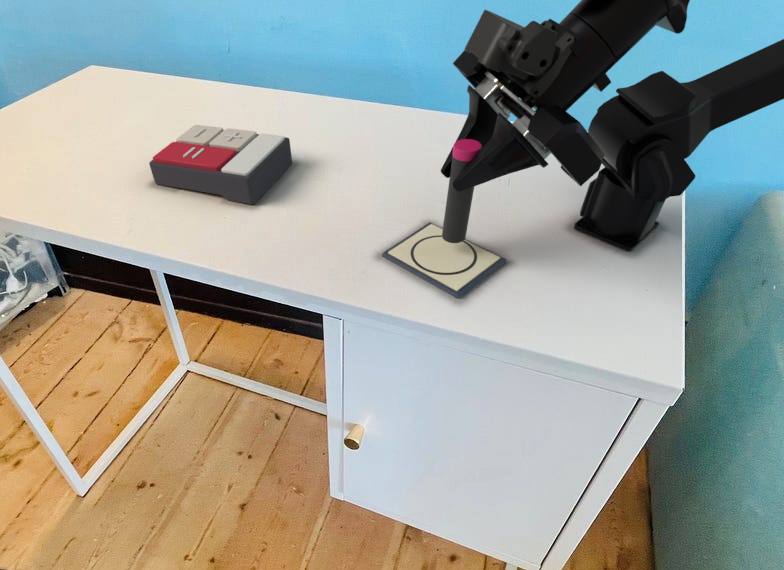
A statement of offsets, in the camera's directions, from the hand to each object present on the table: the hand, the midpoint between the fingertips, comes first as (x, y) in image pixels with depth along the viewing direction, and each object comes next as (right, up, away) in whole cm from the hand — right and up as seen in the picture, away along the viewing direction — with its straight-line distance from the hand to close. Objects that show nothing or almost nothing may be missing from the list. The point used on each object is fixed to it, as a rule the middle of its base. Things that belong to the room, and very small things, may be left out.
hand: (448, 181), depth 54 cm
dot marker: (+2, -4, +5) cm, 7 cm away
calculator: (-24, +7, +21) cm, 33 cm away
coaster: (+1, -6, +6) cm, 9 cm away
